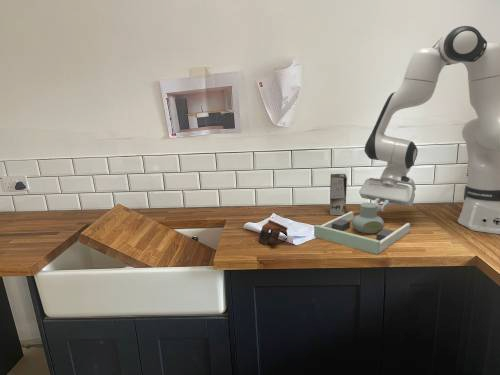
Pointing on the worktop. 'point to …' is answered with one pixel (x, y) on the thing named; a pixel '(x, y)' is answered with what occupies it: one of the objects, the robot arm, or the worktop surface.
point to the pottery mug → (271, 232)
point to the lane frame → (357, 236)
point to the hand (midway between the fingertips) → (378, 210)
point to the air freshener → (368, 219)
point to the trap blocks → (344, 225)
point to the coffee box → (338, 194)
